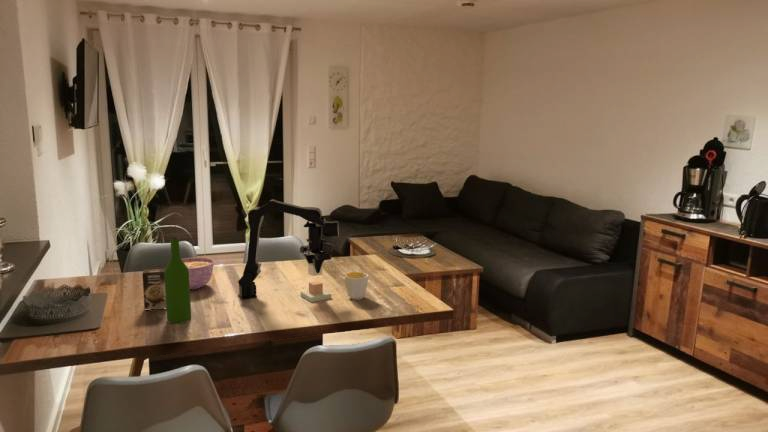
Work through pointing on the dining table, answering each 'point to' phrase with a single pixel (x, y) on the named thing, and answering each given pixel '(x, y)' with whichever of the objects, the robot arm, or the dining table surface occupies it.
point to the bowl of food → (199, 271)
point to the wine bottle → (177, 287)
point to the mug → (356, 285)
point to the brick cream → (313, 270)
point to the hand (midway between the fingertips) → (315, 271)
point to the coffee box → (154, 289)
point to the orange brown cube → (315, 287)
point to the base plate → (315, 296)
